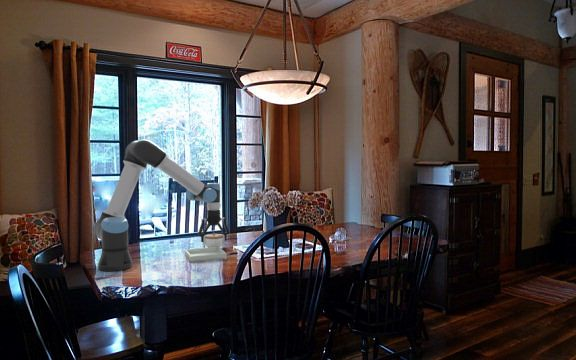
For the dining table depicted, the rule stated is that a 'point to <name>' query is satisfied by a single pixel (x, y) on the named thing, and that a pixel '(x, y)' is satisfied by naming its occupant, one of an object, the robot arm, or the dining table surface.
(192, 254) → the sage bin
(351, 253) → the dining table surface
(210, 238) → the lidded jar
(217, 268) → the dining table surface
